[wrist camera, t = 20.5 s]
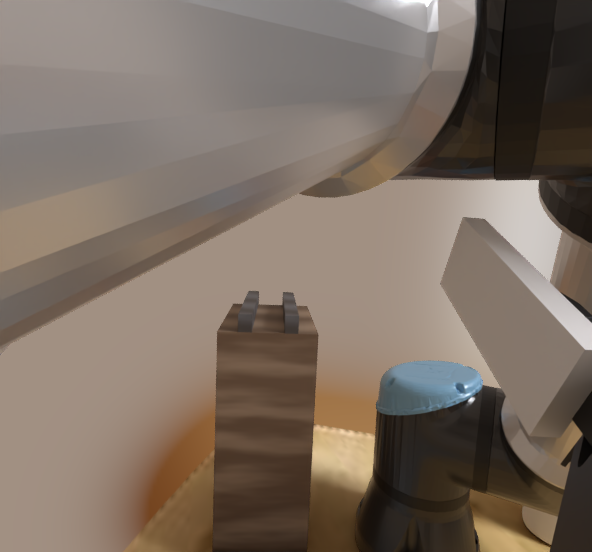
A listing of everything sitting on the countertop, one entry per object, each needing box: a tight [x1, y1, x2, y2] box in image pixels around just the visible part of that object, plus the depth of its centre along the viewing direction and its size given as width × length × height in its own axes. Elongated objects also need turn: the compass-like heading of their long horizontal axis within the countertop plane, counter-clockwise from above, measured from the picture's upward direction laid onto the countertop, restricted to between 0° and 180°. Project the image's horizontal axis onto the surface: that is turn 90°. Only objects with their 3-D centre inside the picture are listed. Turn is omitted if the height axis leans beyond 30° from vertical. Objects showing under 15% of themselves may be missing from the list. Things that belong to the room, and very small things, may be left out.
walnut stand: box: [212, 291, 318, 552], centre depth 52 cm, size 16×11×30 cm
